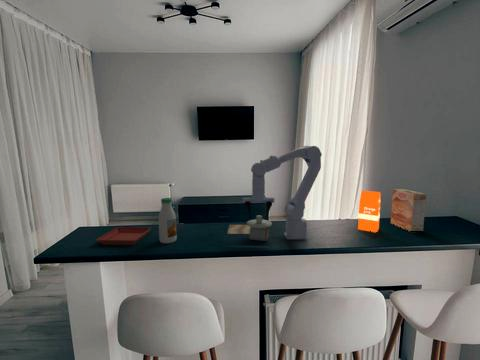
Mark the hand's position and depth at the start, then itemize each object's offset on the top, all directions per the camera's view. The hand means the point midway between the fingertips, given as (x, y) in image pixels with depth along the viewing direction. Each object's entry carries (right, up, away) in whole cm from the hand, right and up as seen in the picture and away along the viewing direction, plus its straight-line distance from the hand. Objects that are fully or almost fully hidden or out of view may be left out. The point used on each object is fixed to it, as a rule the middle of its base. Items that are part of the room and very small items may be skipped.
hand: (258, 217), depth 118 cm
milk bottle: (-42, -11, -1) cm, 43 cm away
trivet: (-8, -9, +12) cm, 17 cm away
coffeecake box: (+80, -8, +16) cm, 82 cm away
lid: (0, -3, -1) cm, 3 cm away
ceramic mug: (0, -11, 0) cm, 11 cm away
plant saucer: (-63, -11, +2) cm, 64 cm away
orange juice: (+58, -8, +14) cm, 61 cm away
